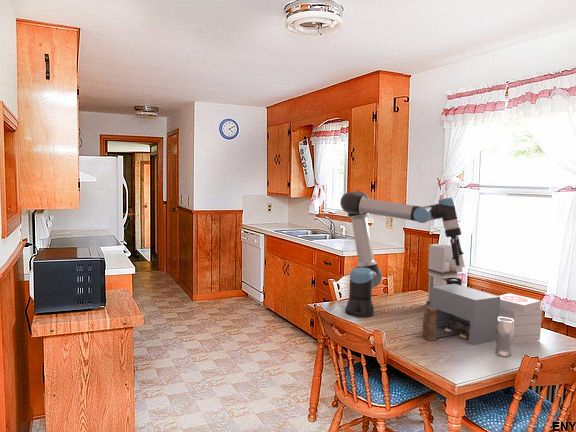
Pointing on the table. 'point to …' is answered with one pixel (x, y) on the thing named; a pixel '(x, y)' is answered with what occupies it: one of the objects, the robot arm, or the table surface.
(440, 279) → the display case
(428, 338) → the brown upright bracket
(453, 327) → the steel token
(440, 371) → the table surface
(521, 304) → the stacked pizza boxes
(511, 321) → the beer glass
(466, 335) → the brass token
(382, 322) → the table surface
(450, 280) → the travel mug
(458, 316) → the grey cabinet
